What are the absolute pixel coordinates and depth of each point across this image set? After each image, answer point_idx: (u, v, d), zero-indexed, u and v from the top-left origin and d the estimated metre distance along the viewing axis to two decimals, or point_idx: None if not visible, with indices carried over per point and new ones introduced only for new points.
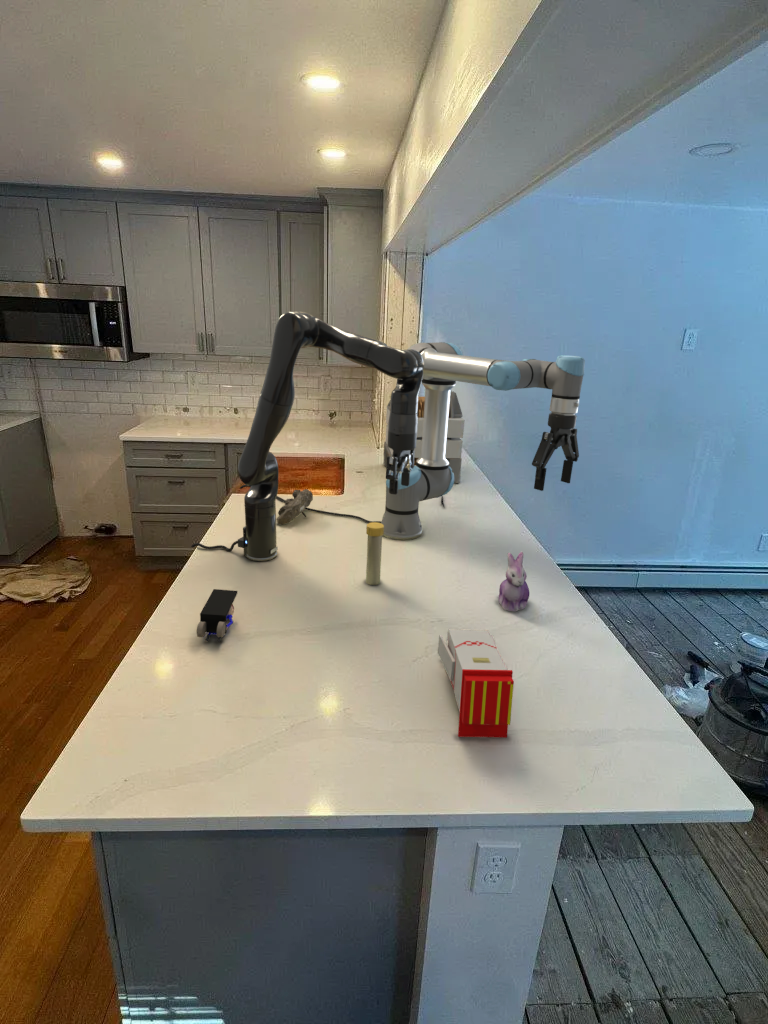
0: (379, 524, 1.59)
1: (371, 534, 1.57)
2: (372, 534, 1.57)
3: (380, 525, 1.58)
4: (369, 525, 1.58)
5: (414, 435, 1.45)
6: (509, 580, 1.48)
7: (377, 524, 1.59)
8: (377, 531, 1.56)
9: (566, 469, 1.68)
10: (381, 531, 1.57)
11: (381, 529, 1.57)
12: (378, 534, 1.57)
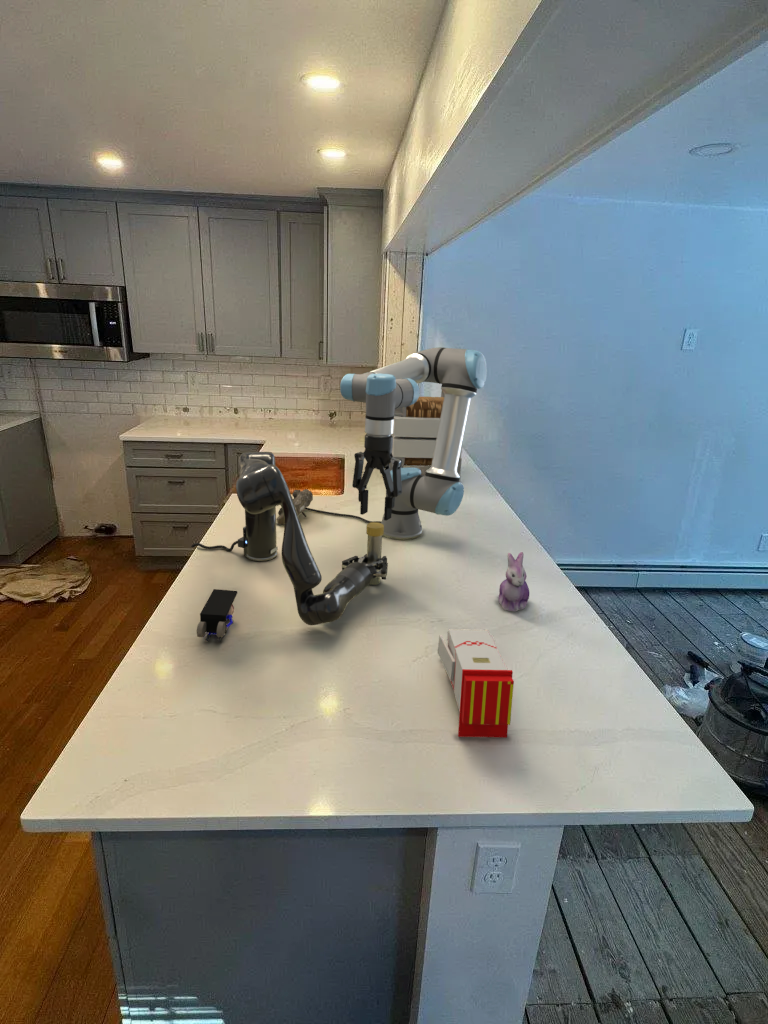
0: (379, 524, 1.59)
1: (371, 534, 1.57)
2: (372, 534, 1.57)
3: (380, 525, 1.58)
4: (369, 525, 1.58)
5: None
6: (509, 580, 1.48)
7: (377, 524, 1.59)
8: (377, 531, 1.56)
9: (365, 500, 1.57)
10: (381, 531, 1.57)
11: (381, 529, 1.57)
12: (378, 534, 1.57)
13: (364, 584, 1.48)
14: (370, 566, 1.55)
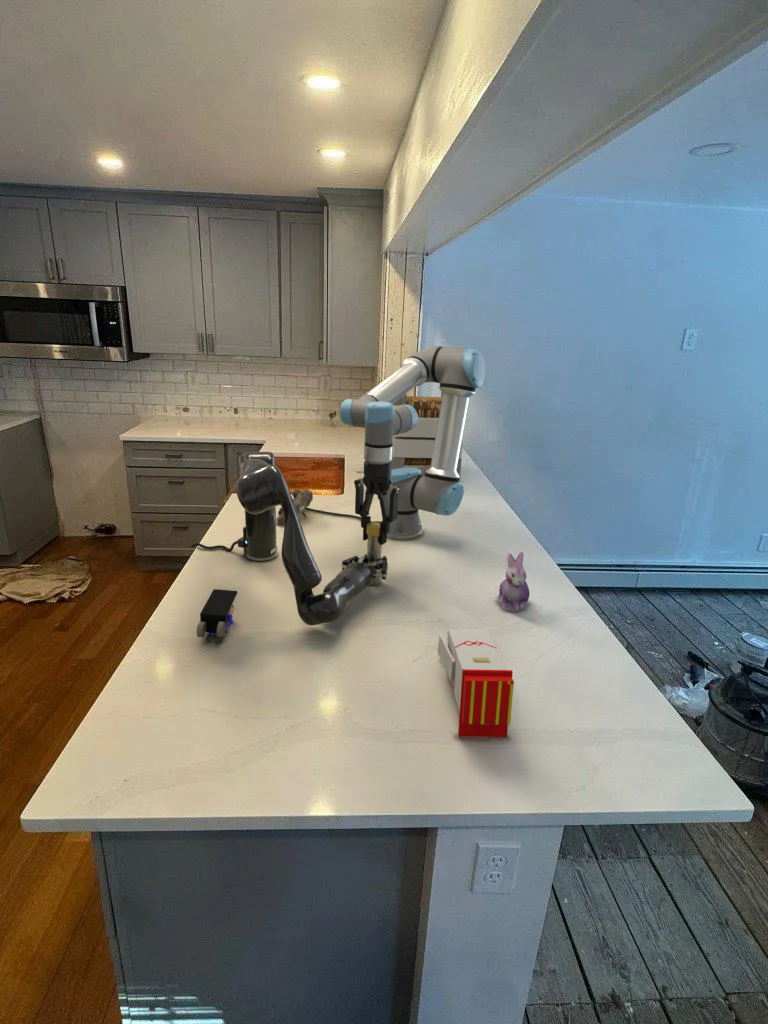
0: (379, 524, 1.59)
1: (371, 534, 1.57)
2: (372, 534, 1.57)
3: None
4: (369, 525, 1.58)
5: None
6: (509, 580, 1.48)
7: (377, 524, 1.59)
8: (377, 531, 1.56)
9: None
10: None
11: None
12: (378, 534, 1.57)
13: (364, 584, 1.48)
14: (370, 566, 1.55)
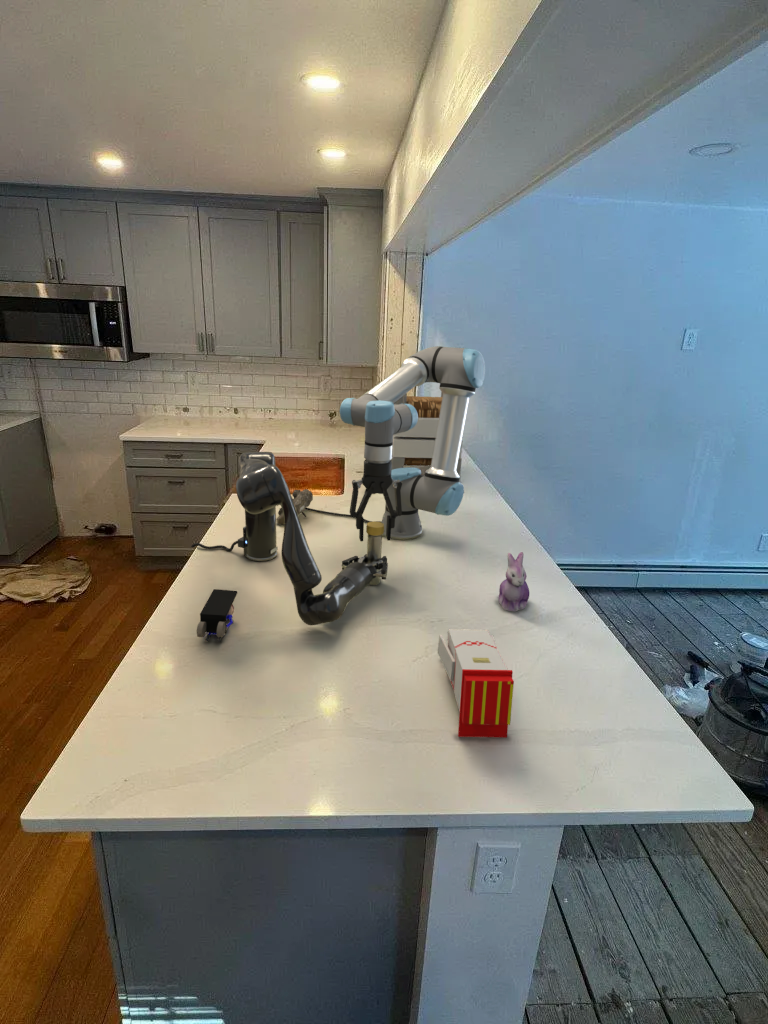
0: (371, 523, 1.59)
1: (383, 531, 1.58)
2: (383, 531, 1.58)
3: (374, 522, 1.59)
4: (377, 526, 1.57)
5: None
6: (509, 580, 1.48)
7: (372, 523, 1.58)
8: None
9: None
10: None
11: None
12: None
13: (364, 584, 1.48)
14: (370, 566, 1.55)
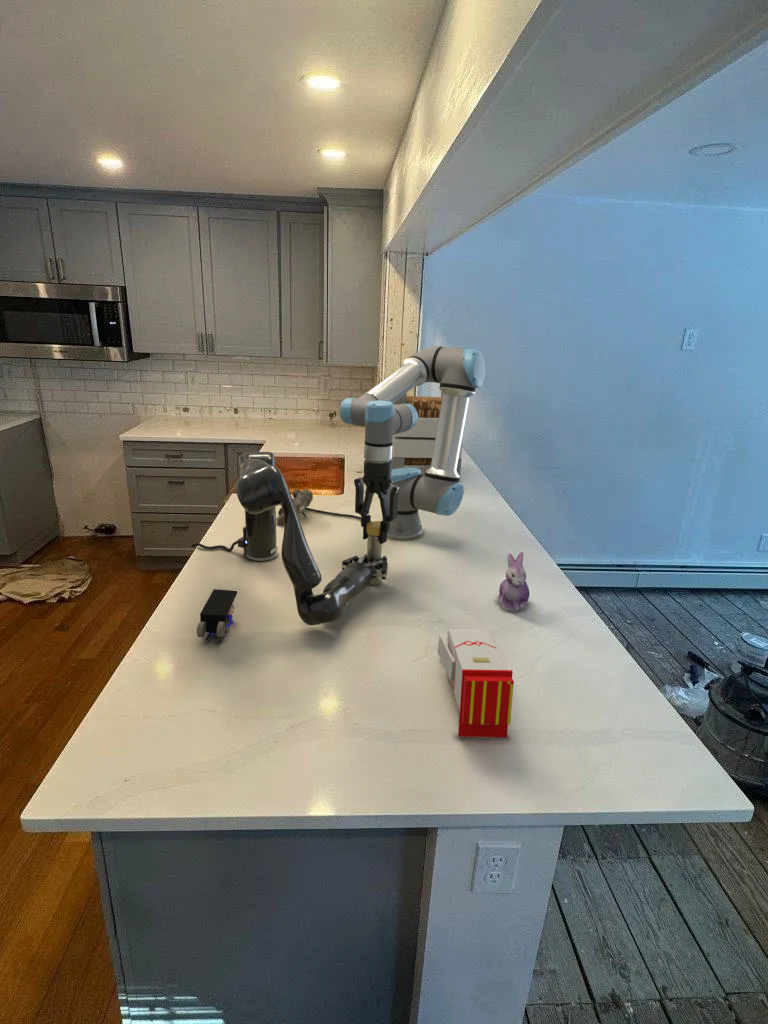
0: (371, 523, 1.59)
1: None
2: None
3: (374, 522, 1.59)
4: (377, 526, 1.57)
5: None
6: (509, 580, 1.48)
7: (372, 523, 1.58)
8: None
9: None
10: None
11: None
12: None
13: (364, 584, 1.48)
14: (370, 566, 1.55)
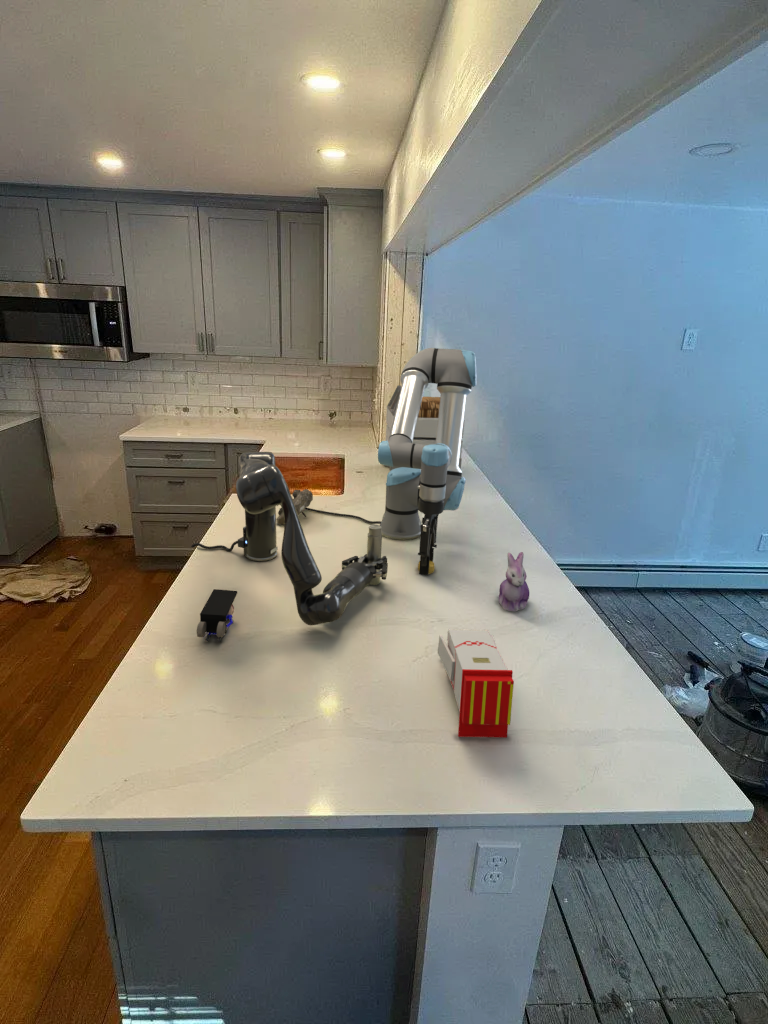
0: None
1: None
2: None
3: None
4: (430, 562, 1.73)
5: None
6: (509, 580, 1.48)
7: None
8: None
9: None
10: None
11: None
12: None
13: (364, 584, 1.48)
14: (370, 566, 1.55)
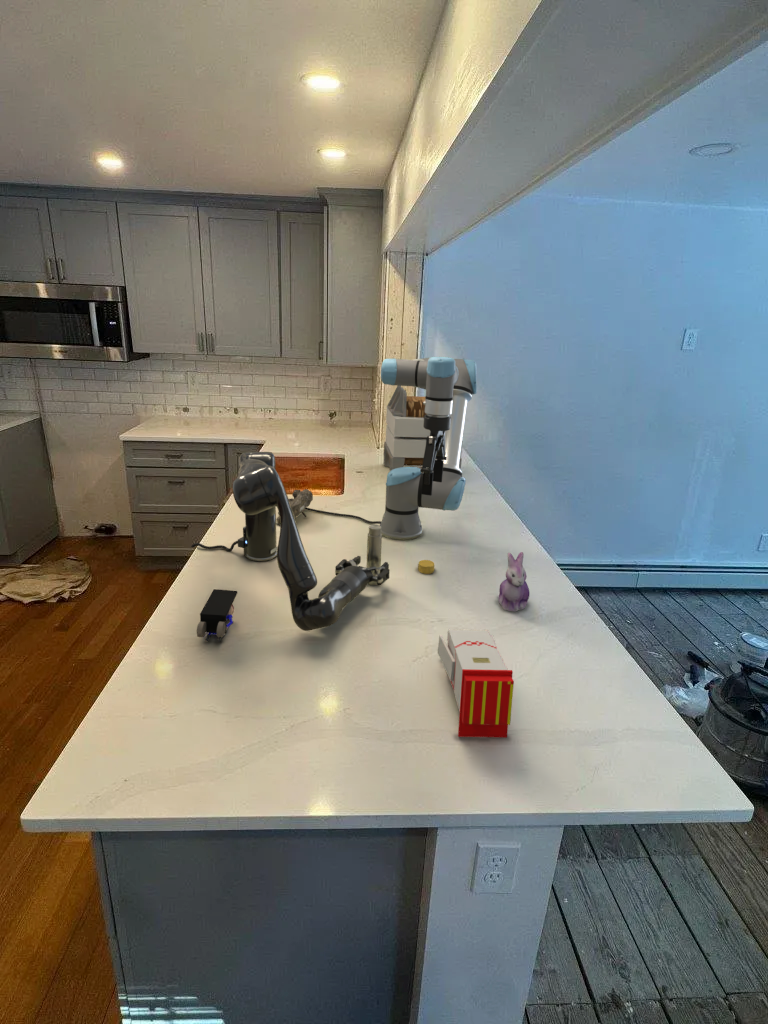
0: (424, 564, 1.71)
1: None
2: None
3: (422, 563, 1.71)
4: (430, 562, 1.73)
5: None
6: (509, 580, 1.48)
7: (426, 564, 1.71)
8: None
9: None
10: None
11: None
12: None
13: (360, 588, 1.46)
14: (366, 570, 1.52)
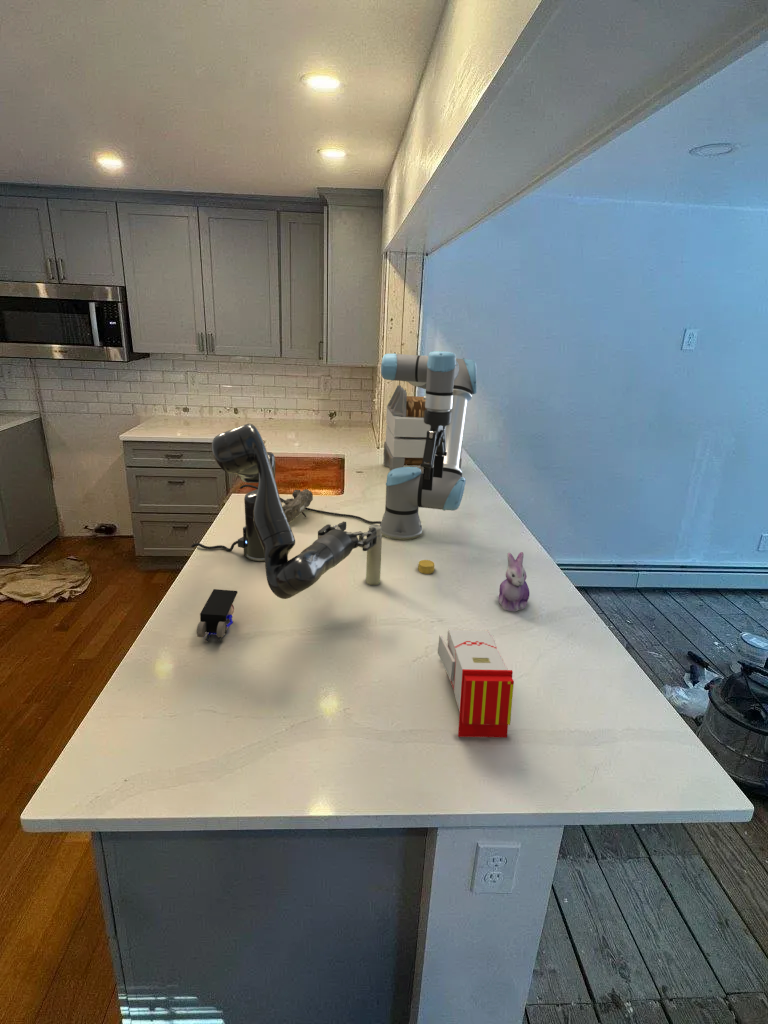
0: (424, 564, 1.71)
1: None
2: None
3: (422, 563, 1.71)
4: (430, 562, 1.73)
5: None
6: (509, 580, 1.48)
7: (426, 564, 1.71)
8: None
9: None
10: None
11: None
12: None
13: (344, 553, 1.33)
14: (351, 535, 1.39)
